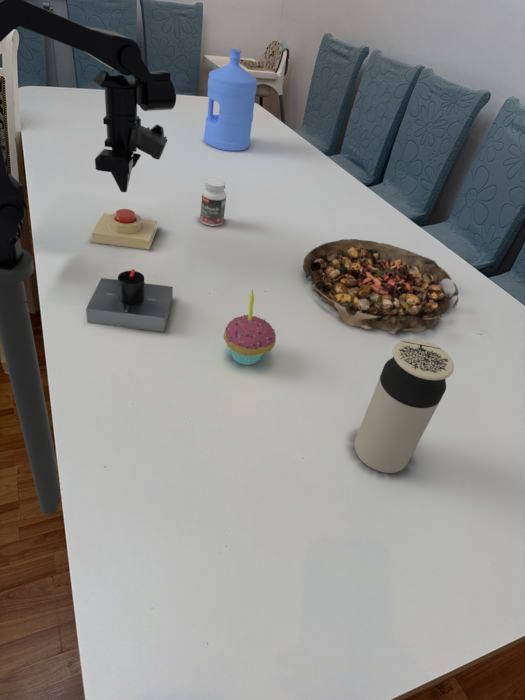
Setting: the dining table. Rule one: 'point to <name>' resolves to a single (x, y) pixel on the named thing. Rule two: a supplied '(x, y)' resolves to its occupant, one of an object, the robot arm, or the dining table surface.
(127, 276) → the knob
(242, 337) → the cupcake
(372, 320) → the food dish
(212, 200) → the pill bottle
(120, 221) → the button
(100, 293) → the panel
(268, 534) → the dining table surface
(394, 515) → the dining table surface
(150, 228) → the housing
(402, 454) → the travel mug
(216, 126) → the water jug
